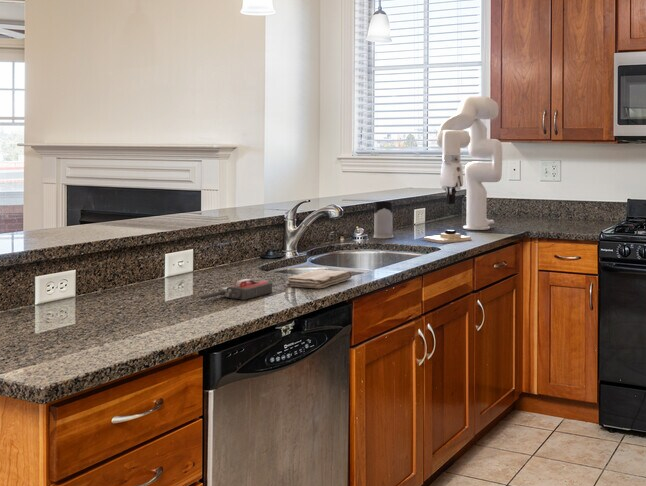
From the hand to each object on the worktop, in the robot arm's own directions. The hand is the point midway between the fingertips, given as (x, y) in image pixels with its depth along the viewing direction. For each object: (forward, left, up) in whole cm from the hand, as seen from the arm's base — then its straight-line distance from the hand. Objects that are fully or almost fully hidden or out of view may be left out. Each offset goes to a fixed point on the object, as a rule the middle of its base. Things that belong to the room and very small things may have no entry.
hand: (450, 203), depth 310 cm
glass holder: (+15, -28, -16) cm, 36 cm away
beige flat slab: (+1, -1, -15) cm, 15 cm away
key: (+1, +1, -13) cm, 13 cm away
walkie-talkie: (+116, +51, -16) cm, 127 cm away
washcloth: (+89, +47, -16) cm, 102 cm away
